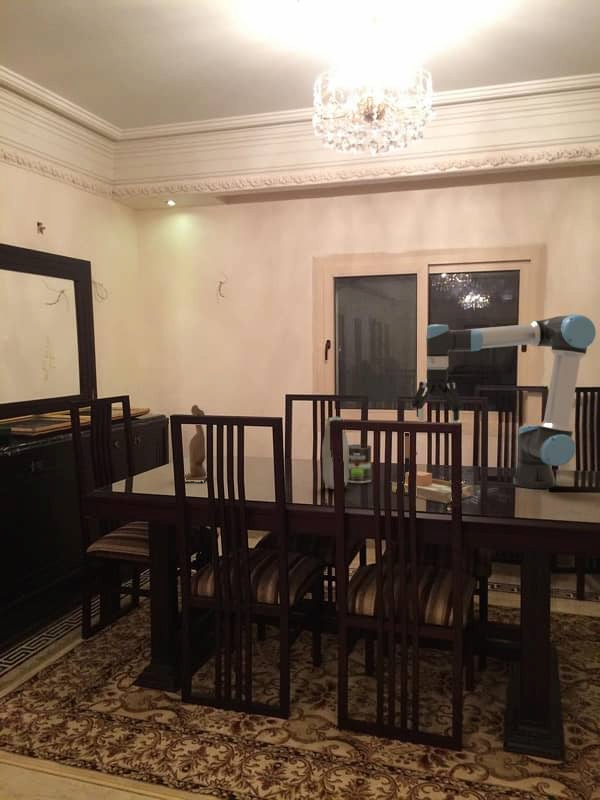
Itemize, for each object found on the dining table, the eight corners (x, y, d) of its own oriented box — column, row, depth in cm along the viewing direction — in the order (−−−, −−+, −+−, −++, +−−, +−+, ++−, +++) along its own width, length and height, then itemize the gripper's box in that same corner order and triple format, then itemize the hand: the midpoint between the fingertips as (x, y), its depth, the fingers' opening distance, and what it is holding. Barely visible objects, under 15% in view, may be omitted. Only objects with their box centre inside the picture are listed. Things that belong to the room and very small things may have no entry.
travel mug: (415, 479, 256) (415, 430, 254) (397, 478, 259) (396, 430, 257) (418, 475, 263) (418, 428, 262) (400, 474, 266) (400, 427, 264)
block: (415, 480, 244) (415, 470, 244) (432, 483, 238) (432, 473, 238) (405, 483, 240) (405, 472, 240) (422, 486, 234) (422, 475, 234)
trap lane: (415, 484, 247) (415, 475, 247) (472, 495, 227) (472, 485, 227) (388, 491, 236) (388, 482, 236) (446, 503, 217) (446, 493, 217)
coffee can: (369, 483, 250) (369, 448, 249) (344, 482, 252) (343, 448, 251) (373, 478, 260) (372, 444, 259) (348, 477, 262) (348, 444, 261)
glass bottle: (348, 492, 236) (347, 418, 234) (321, 491, 238) (320, 418, 235) (350, 486, 246) (349, 415, 243) (324, 485, 248) (323, 415, 245)
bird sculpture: (206, 484, 256) (206, 406, 253) (179, 483, 258) (179, 405, 255) (215, 478, 267) (215, 404, 264) (188, 477, 269) (188, 403, 266)
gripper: (402, 368, 228) (402, 426, 230) (462, 369, 210) (462, 432, 212) (414, 367, 233) (414, 424, 235) (474, 368, 215) (474, 430, 217)
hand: (437, 428), depth 223 cm, fingers open, 13 cm apart
